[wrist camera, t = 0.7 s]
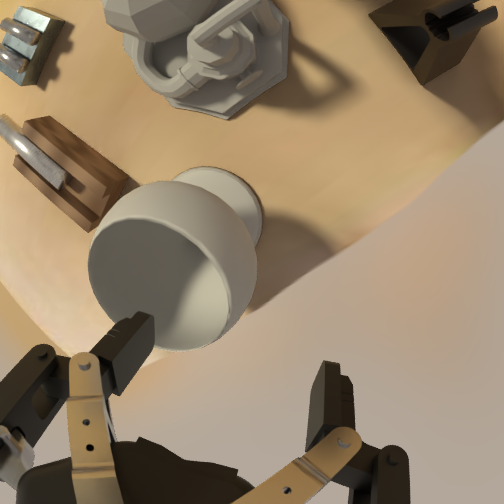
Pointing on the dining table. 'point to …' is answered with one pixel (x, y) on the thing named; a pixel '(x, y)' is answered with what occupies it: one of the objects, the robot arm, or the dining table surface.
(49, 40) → the V-block
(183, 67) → the grey faceted sculpture
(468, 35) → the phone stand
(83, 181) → the grooved beam
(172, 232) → the chalice
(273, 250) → the dining table surface
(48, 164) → the axle
